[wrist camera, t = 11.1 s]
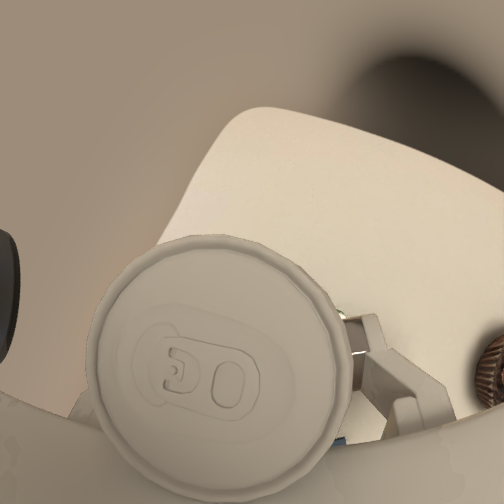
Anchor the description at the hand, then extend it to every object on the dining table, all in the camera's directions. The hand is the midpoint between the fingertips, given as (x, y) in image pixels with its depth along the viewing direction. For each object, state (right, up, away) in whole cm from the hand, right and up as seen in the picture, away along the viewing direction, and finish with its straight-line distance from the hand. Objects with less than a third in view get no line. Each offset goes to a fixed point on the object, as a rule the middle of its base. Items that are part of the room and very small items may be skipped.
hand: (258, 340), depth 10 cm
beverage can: (+2, -3, +6) cm, 7 cm away
